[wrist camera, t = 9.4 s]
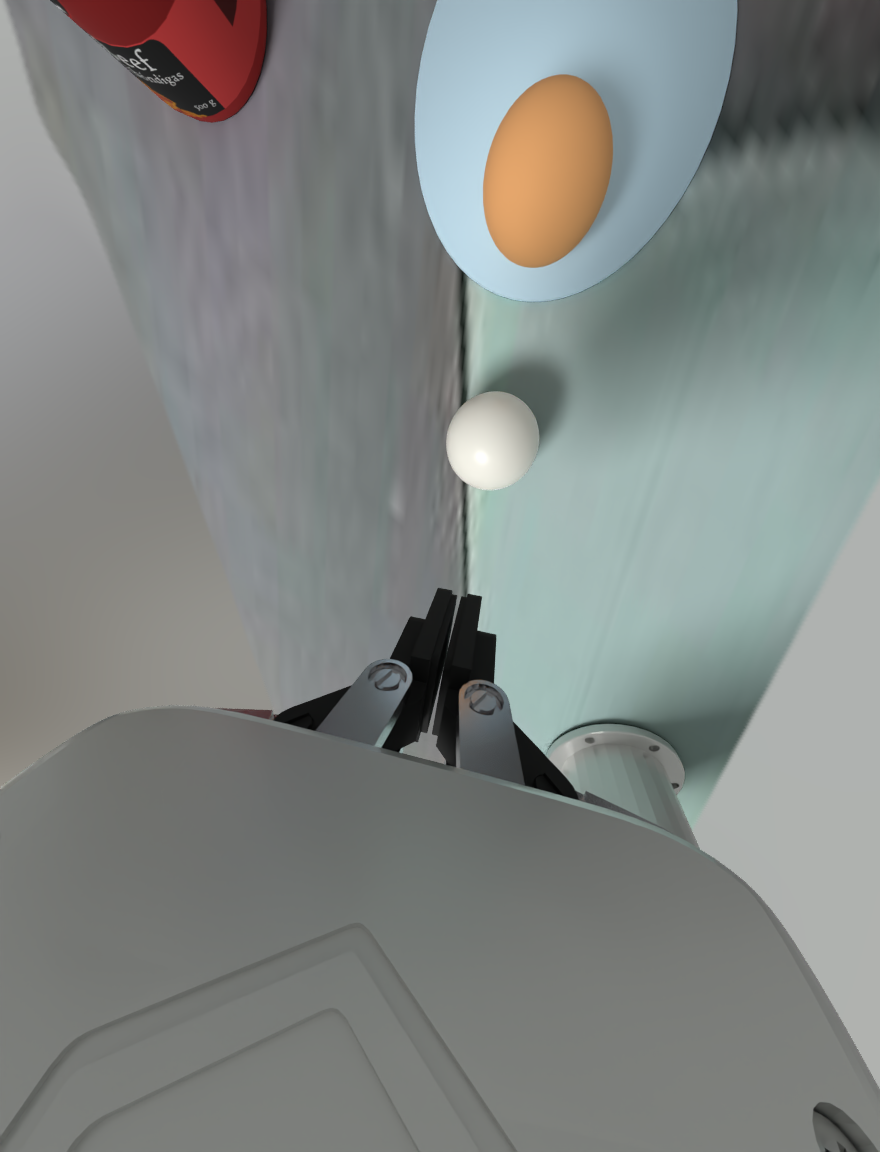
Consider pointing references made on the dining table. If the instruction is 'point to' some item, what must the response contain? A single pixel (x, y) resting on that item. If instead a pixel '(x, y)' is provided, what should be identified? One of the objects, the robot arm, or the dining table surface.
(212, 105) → the canned food
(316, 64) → the dining table surface
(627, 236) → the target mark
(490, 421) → the white egg
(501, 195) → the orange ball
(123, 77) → the dining table surface
